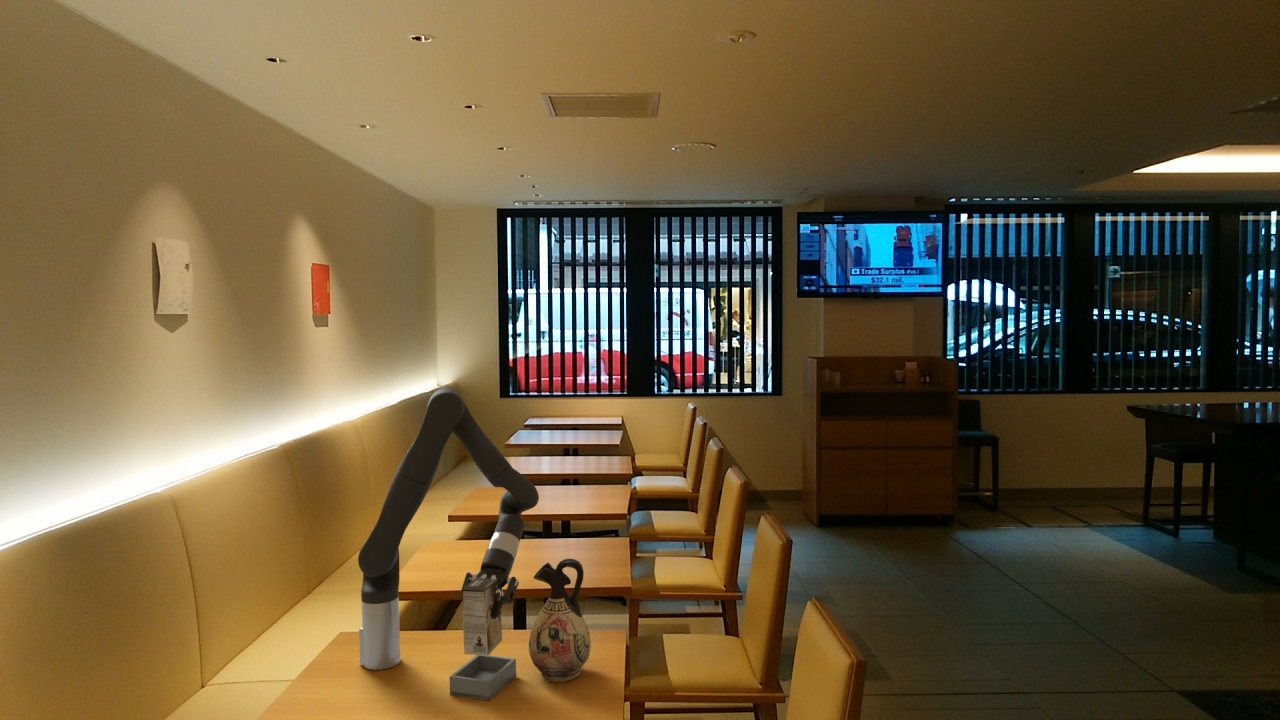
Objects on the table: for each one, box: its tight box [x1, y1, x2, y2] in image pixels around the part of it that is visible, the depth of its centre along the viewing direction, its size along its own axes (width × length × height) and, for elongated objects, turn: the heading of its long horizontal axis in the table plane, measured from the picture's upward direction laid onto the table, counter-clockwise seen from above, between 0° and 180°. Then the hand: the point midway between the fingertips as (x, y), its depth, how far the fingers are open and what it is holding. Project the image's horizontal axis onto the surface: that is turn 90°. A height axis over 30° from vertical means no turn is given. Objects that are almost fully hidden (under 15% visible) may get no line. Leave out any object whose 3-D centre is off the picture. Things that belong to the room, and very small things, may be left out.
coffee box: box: [461, 577, 503, 656], centre depth 198 cm, size 9×6×16 cm
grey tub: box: [449, 654, 517, 702], centre depth 199 cm, size 11×14×4 cm
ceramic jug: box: [528, 558, 592, 683], centre depth 204 cm, size 17×15×30 cm
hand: (479, 616), depth 197 cm, fingers closed on coffee box, 6 cm apart
